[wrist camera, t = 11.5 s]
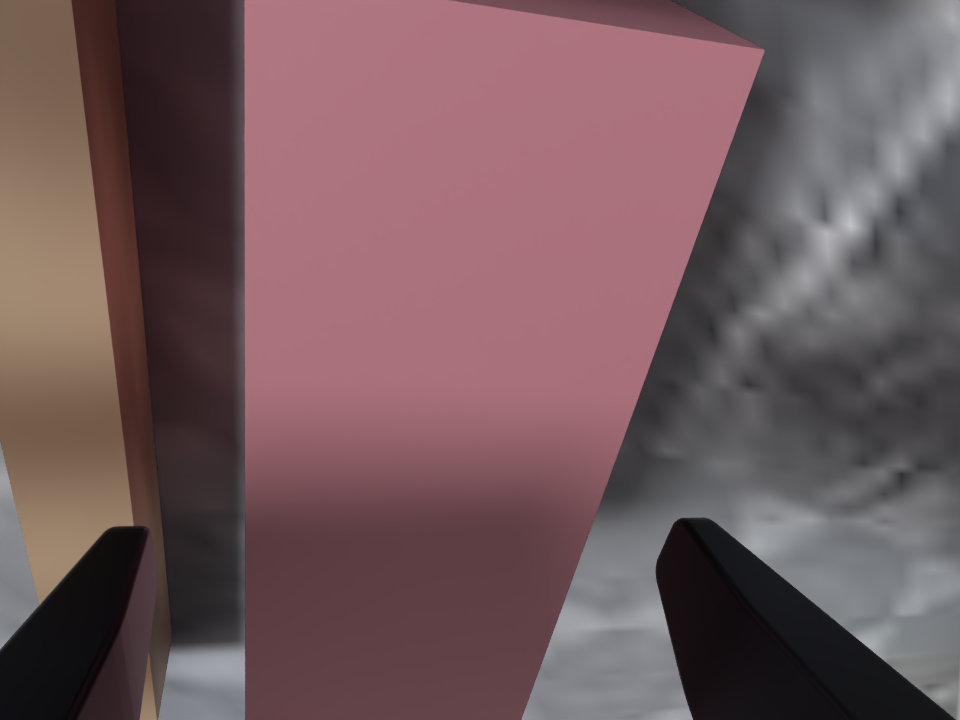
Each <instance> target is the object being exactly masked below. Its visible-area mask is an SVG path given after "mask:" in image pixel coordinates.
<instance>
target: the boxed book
mask: <svg viewBox="0 0 960 720" xmlns="http://www.w3.org/2000/svg"><path fill="white" fill-rule="evenodd" d="M764 51H765V50H764V49H762V48H760V47H758V46H757V45H755V44H753V43H751V42H749V41H747V40H745V39H743V38H741V37H739V36H738V35H736V34H734V33H732V32H730V31H728V30H726V29H724V28H722V27H720V26H719V25H717V24H715V23H713V22H711V21H709V20H707V19H705V18H703V17H701V16H699V15H698V14H696V13H694V12H692V11H690V10H688V9H686V8H684V7H682V6H680V5H679V4H677V3H675V2H673V1H671V0H245V720H521V719H522V716H523V713H524V711H525V708H526V705H527V702H528V700H529V697H530V694H531V691H532V689H533V686H534V683H535V680H536V678H537V675H538V672H539V669H540V667H541V664H542V661H543V658H544V656H545V653H546V650H547V647H548V645H549V642H550V639H551V636H552V634H553V631H554V628H555V625H556V623H557V620H558V617H559V614H560V612H561V609H562V606H563V603H564V601H565V598H566V595H567V592H568V590H569V587H570V584H571V581H572V579H573V576H574V573H575V570H576V568H577V565H578V562H579V559H580V557H581V554H582V551H583V548H584V546H585V543H586V540H587V538H588V535H589V532H590V529H591V527H592V524H593V521H594V518H595V516H596V513H597V510H598V507H599V505H600V502H601V499H602V496H603V494H604V491H605V488H606V485H607V483H608V480H609V477H610V474H611V472H612V469H613V466H614V463H615V461H616V458H617V455H618V452H619V450H620V447H621V444H622V441H623V439H624V436H625V433H626V430H627V428H628V425H629V422H630V419H631V417H632V414H633V411H634V408H635V406H636V403H637V400H638V397H639V395H640V392H641V389H642V386H643V384H644V381H645V378H646V375H647V373H648V370H649V367H650V364H651V362H652V359H653V356H654V353H655V351H656V348H657V345H658V343H659V340H660V337H661V334H662V332H663V329H664V326H665V323H666V321H667V318H668V315H669V312H670V310H671V307H672V304H673V301H674V299H675V296H676V293H677V290H678V288H679V285H680V282H681V279H682V277H683V274H684V271H685V268H686V266H687V263H688V260H689V257H690V255H691V252H692V249H693V246H694V244H695V241H696V238H697V235H698V233H699V230H700V227H701V224H702V222H703V219H704V216H705V213H706V211H707V208H708V205H709V202H710V200H711V197H712V194H713V191H714V189H715V186H716V183H717V180H718V178H719V175H720V172H721V169H722V167H723V164H724V161H725V158H726V156H727V153H728V150H729V148H730V145H731V142H732V139H733V137H734V134H735V131H736V128H737V126H738V123H739V120H740V117H741V115H742V112H743V109H744V106H745V104H746V101H747V98H748V95H749V93H750V90H751V87H752V84H753V82H754V79H755V76H756V73H757V71H758V68H759V65H760V62H761V60H762V57H763V54H764Z"/></svg>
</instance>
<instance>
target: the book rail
mask: <svg viewBox="0 0 960 720" xmlns="http://www.w3.org/2000/svg"><path fill="white" fill-rule="evenodd" d="M0 442H1V446H2V450H3V455H4V459H5V463H6V467H7V471H8V476H9V480H10V484H11V488H12V492H13V497H14V501H15V505H16V509H17V513H18V518H19V522H20V526H21V530H22V534H23V539H24V543H25V547H26V551H27V555H28V560H29V564H30V568H31V572H32V576H33V580H34V585H35V589H36V593H37V597H38V601H39V605H40V604H41V603H42V602H43V601H44V599H45V598H46V597H47V596H48V595H49V594H50V593H51V591H52V590H53V589H54V588H55V587H56V586H57V585H58V584H59V582H60V581H61V580H62V579H63V578H64V577H65V576H66V574H67V573H68V572H69V571H70V570H71V569H72V568H73V566H74V565H75V564H76V563H77V562H78V561H79V560H80V559H81V557H82V556H83V555H84V554H85V553H86V552H87V551H88V549H89V548H90V547H91V546H92V545H93V544H94V543H95V541H96V540H97V539H98V538H99V537H100V536H101V535H102V534H103V532H104V531H106V530H107V529H109V528H111V527H115V526H146V527H148V528H150V530H151V532H152V536H153V545H154V555H155V564H156V574H157V590H156V600H155V608H154V615H153V623H152V631H151V638H150V646H149V653H148V661H147V669H146V676H145V684H144V691H143V699H142V707H141V714H140V720H158V717H159V711H160V705H161V699H162V693H163V687H164V681H165V675H166V669H167V663H168V657H169V652H170V646H171V640H172V630H171V619H170V608H169V597H168V585H167V574H166V563H165V552H164V541H163V529H162V518H161V507H160V496H159V484H158V473H157V462H156V451H155V440H154V428H153V417H152V406H151V395H150V384H149V372H148V361H147V350H146V339H145V327H144V316H143V305H142V294H141V283H140V271H139V260H138V249H137V238H136V226H135V215H134V204H133V193H132V182H131V170H130V159H129V148H128V137H127V125H126V114H125V103H124V92H123V81H122V69H121V58H120V47H119V36H118V24H117V13H116V2H115V0H0Z"/></svg>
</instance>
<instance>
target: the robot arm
mask: <svg viewBox="0 0 960 720" xmlns="http://www.w3.org/2000/svg"><path fill="white" fill-rule="evenodd" d="M656 580H657V584H658V588H659V593H660V597H661V601H662V605H663V609H664V613H665V617H666V621H667V626H668V630H669V634H670V638H671V642H672V646H673V650H674V654H675V659H676V663H677V667H678V671H679V675H680V679H681V682H682V686H683V690H684V693H685V697H686V700H687V703H688V706H689V709H690V712H691V715H692V718H693V720H956V719H954V718H953V717H952V716H951V715H949V714H948V713H947V712H946V711H945V710H943V709H942V708H941V707H940V706H938V705H937V704H936V703H935V702H934V701H932V700H931V699H930V698H929V697H927V696H926V695H925V694H924V693H923V692H921V691H920V690H919V689H918V688H917V687H915V686H914V685H913V684H912V683H910V682H909V681H908V680H907V679H906V678H904V677H903V676H902V675H901V674H899V673H898V672H897V671H896V670H895V669H893V668H892V667H891V666H890V665H888V664H887V663H886V662H885V661H884V660H882V659H881V658H880V657H879V656H877V655H876V654H875V653H874V652H873V651H871V650H870V649H869V648H868V647H866V646H865V645H864V644H863V643H862V642H860V641H859V640H858V639H857V638H856V637H854V636H853V635H852V634H851V633H849V632H848V631H847V630H846V629H845V628H843V627H842V626H841V625H840V624H838V623H837V622H836V621H835V620H834V619H832V618H831V617H830V616H829V615H827V614H826V613H825V612H824V611H823V610H821V609H820V608H819V607H818V606H816V605H815V604H814V603H813V602H812V601H810V600H809V599H808V598H807V597H805V596H804V595H803V594H802V593H801V592H799V591H798V590H797V589H796V588H794V587H793V586H792V585H791V584H790V583H788V582H787V581H786V580H785V579H784V578H782V577H781V576H780V575H779V574H777V573H776V572H775V571H774V570H773V569H771V568H770V567H769V566H768V565H766V564H765V563H764V562H763V561H762V560H760V559H759V558H758V557H757V556H755V555H754V554H753V553H752V552H751V551H749V550H748V549H747V548H746V547H744V546H743V545H742V544H741V543H740V542H738V541H737V540H736V539H735V538H733V537H732V536H731V535H730V534H729V533H727V532H726V531H725V530H724V529H723V528H721V527H720V526H719V525H718V524H716V523H715V522H714V521H712V520H710V519H708V518H680V519H678V520H677V521H676V522H675V523H674V524H673V526H672V528H671V530H670V532H669V535H668V537H667V539H666V541H665V544H664V546H663V548H662V550H661V552H660V555H659V557H658V559H657V563H656ZM156 590H157V574H156V564H155V555H154V545H153V536H152V532H151V530H150V528H148V527H146V526H115V527H111V528H109V529H107V530H106V531H104V532H103V534H102V535H101V536H100V537H99V538H98V539H97V540H96V541H95V543H94V544H93V545H92V546H91V547H90V548H89V549H88V551H87V552H86V553H85V554H84V555H83V556H82V557H81V559H80V560H79V561H78V562H77V563H76V564H75V565H74V566H73V568H72V569H71V570H70V571H69V572H68V573H67V574H66V576H65V577H64V578H63V579H62V580H61V581H60V582H59V584H58V585H57V586H56V587H55V588H54V589H53V590H52V591H51V593H50V594H49V595H48V596H47V597H46V598H45V599H44V601H43V602H42V603H41V604H40V605H39V606H38V607H37V608H36V610H35V611H34V612H33V613H32V614H31V615H30V616H29V618H28V619H27V620H26V621H25V622H24V623H23V624H22V626H21V627H20V628H19V629H18V630H17V631H16V632H15V633H14V635H13V636H12V637H11V638H10V639H9V640H8V641H7V643H6V644H5V645H4V646H3V647H2V648H1V649H0V720H140V714H141V707H142V699H143V691H144V684H145V676H146V669H147V661H148V653H149V646H150V638H151V631H152V623H153V615H154V608H155V600H156Z"/></svg>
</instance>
